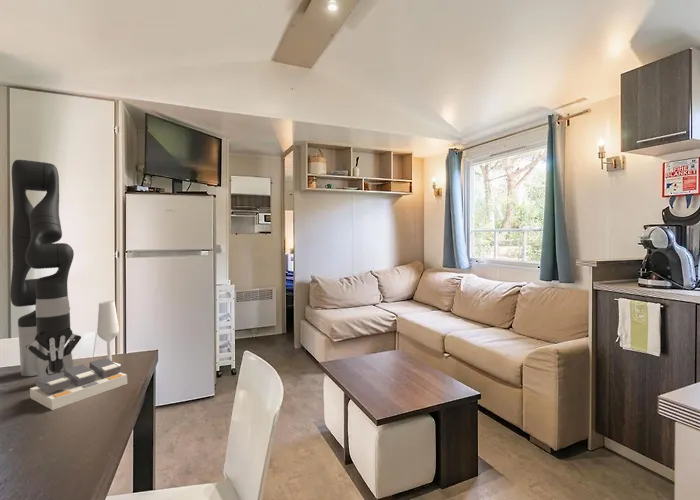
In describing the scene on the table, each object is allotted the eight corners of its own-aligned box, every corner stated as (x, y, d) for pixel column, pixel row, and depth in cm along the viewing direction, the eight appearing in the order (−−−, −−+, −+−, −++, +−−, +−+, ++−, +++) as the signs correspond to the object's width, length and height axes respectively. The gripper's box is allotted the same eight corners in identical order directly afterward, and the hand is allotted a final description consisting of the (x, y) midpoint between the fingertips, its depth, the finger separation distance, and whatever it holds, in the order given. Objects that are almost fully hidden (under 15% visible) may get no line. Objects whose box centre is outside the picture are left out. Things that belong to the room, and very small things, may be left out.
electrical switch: (39, 388, 115) (37, 359, 115) (35, 386, 118) (33, 357, 118) (75, 379, 122) (73, 351, 122) (70, 377, 125) (68, 350, 125)
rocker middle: (64, 375, 112) (64, 368, 112) (82, 370, 117) (82, 363, 116) (77, 386, 108) (77, 379, 108) (96, 380, 112) (96, 373, 112)
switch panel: (30, 398, 108) (29, 385, 107) (104, 375, 125) (103, 364, 125) (52, 410, 100) (51, 397, 100) (127, 383, 117) (127, 372, 117)
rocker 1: (35, 385, 106) (35, 378, 106) (56, 379, 111) (56, 372, 110) (49, 393, 102) (48, 385, 102) (69, 386, 106) (69, 379, 106)
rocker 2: (89, 368, 118) (89, 361, 118) (106, 363, 123) (106, 356, 122) (103, 377, 114) (103, 371, 114) (120, 372, 118) (120, 366, 118)
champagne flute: (97, 371, 128) (94, 304, 127) (99, 366, 134) (96, 301, 132) (120, 368, 131) (117, 302, 130) (121, 362, 137) (118, 299, 136)
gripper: (74, 307, 111) (76, 362, 112) (18, 316, 100) (21, 377, 101) (85, 309, 107) (88, 367, 108) (29, 319, 96) (32, 383, 97)
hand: (56, 371), depth 105 cm, fingers closed
